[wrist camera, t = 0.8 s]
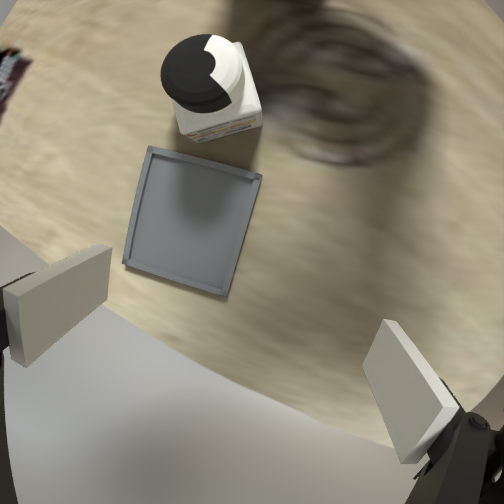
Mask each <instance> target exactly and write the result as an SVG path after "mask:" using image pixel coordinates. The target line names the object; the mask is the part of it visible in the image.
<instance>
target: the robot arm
mask: <svg viewBox="0 0 504 504" xmlns="http://www.w3.org/2000/svg"><path fill="white" fill-rule="evenodd" d="M111 255H112V247H110V246H107V245H104V244H101V243H98V244H96V245H94V246H91V247H89V248H87V249H85V250H82V251H80V252H78V253H76V254H73V255H71V256H69V257H67V258H65V259H63V260H60V261H58V262H56V263H54V264H52V265H50V266H48V267H46V268H44V269H41V270H40V271H37V272H33V273H29V274H26V275H24V276H22V277H20V279H19V278H18V279H16V280H14V281H13V282H10V283H8V284H6V285H4V286H2V287H0V504H18V501H17V497H16V492H15V487H14V482H13V477H12V472H11V466H10V459H9V452H8V445H7V435H6V424H5V411H4V410H5V409H4V355H3V350H4V349H5V348H6V347H8V346H9V348H10V354H11V359H12V360H14V361H15V362H17V363H19V364H20V365H22V366H23V367H25V368H27V367H28V366H29V365H30V364H32V363H33V362H34V361H35V360H36V359H37V358H38V357H40V355H42V354H43V353H44V352H45V351H46V350H47V349H49V348H50V347H51V346H52V345H53V344H54V343H56V342H57V341H58V340H59V339H60V338H61V337H63V336H64V335H65V334H66V333H67V332H68V331H70V330H71V329H72V328H73V327H74V326H76V325H77V324H78V323H79V322H80V321H82V320H83V319H84V318H85V317H86V316H88V315H89V314H90V313H91V312H92V311H94V310H95V309H96V308H97V307H99V306H100V305H101V304H102V303H103V302H105V301H106V300H107V295H108V283H109V273H110V264H111ZM362 368H363V370H364V373H365V375H366V378H367V380H368V382H369V385H370V387H371V389H372V392H373V394H374V397H375V399H376V402H377V404H378V407H379V409H380V411H381V414H382V416H383V419H384V422H385V424H386V427H387V429H388V432H389V434H390V437H391V439H392V442H393V445H394V447H395V450H396V452H397V455H398V458H399V461H400V463H401V464H414V463H418V462H419V461H420V460H421V458H422V457H423V456H424V455H425V454H426V452H427V453H428V455H429V458H430V460H429V461H428V462H427V463H426V464H425V466H424V467H423V468H422V469H421V470H420V471H419V472H418V473H417V475H416V476H415V477H414V478H413V479H416V478H417V477H419V478H418V480H417V482H416V484H415V486H414V488H413V490H412V491H411V493H410V495H409V497H408V499H407V501H406V503H405V504H504V425H503V427H502V428H501V429H500V431H495V430H491V429H490V425H489V423H488V422H487V421H486V420H485V419H484V418H483V417H482V416H480V415H478V414H476V413H473V412H467V413H466V412H465V411H464V409H463V408H462V406H461V405H460V403H459V402H458V401H457V399H456V398H455V396H453V393H452V392H451V391H450V390H449V388H448V386H447V385H446V384H445V382H444V381H443V380H442V379H441V378H440V377H438V376H437V374H436V373H435V372H434V370H433V369H432V368H431V366H430V365H429V364H428V362H427V361H426V360H425V358H424V357H423V355H422V354H421V353H420V351H419V350H418V349H417V348H416V346H415V345H414V344H413V342H412V341H411V340H410V338H409V337H408V336H407V334H406V333H405V332H404V331H403V329H402V328H401V327H400V325H399V324H398V323H397V322H396V321H392V320H388V319H383V320H382V323H381V325H380V327H379V330H378V332H377V334H376V336H375V339H374V341H373V343H372V345H371V347H370V350H369V352H368V354H367V356H366V358H365V360H364V362H363V364H362ZM501 470H502V473H501V476H500V478H499V479H498V481H496V482H495V477H496V476H497V474H498V473H499V472H500V471H501Z"/></svg>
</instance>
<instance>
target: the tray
mask: <svg viewBox="0 0 504 504" xmlns="http://www.w3.org/2000/svg"><path fill="white" fill-rule="evenodd" d="M261 178H262V175H261V174H258V173H255V172H251V171H248V170H244V169H241V168H237V167H233V166H230V165H226V164H222V163H218V162H215V161H211V160H207V159H203V158H199V157H195V156H191V155H187V154H183V153H179V152H175V151H170V150H166V149H162V148H157V147H153V146H148V148H147V152H146V155H145V159H144V163H143V167H142V170H141V174H140V178H139V182H138V186H137V191H136V195H135V199H134V204H133V208H132V213H131V217H130V222H129V227H128V232H127V237H126V243H125V248H124V254H123V260H122V264H125V265H128V266H131V267H134V268H137V269H139V270H142V271H145V272H148V273H151V274H154V275H157V276H160V277H164V278H167V279H170V280H173V281H176V282H179V283H182V284H185V285H188V286H192V287H195V288H198V289H201V290H204V291H208V292H211V293H214V294H217V295H221V296H224V297H227V294H228V291H229V287H230V284H231V280H232V277H233V273H234V270H235V266H236V263H237V260H238V256H239V253H240V249H241V246H242V242H243V239H244V236H245V232H246V229H247V225H248V222H249V218H250V215H251V212H252V208H253V205H254V202H255V198H256V195H257V191H258V188H259V185H260V181H261Z"/></svg>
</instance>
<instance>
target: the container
mask: <svg viewBox="0 0 504 504" xmlns="http://www.w3.org/2000/svg"><path fill="white" fill-rule="evenodd" d="M161 82H162V86H163V88H164V90H165V91H166V93H167V94H168V95H169V96H170V97H171V98H172V102H173V106H174V110H175V114H176V118H177V122H178V126H179V130H180V133H181V134H183V135H185V136H187V137H188V138H190V139H192V140H194V141H195V142H197V143H203V142H206V141H210V140H213V139H216V138H220V137H223V136H226V135H230V134H233V133H237V132H241V131H244V130H248V129H252V128H256V127H260V126H262V124H263V119H262V108H261V104H260V101H259V97H258V94H257V91H256V88H255V84H254V81H253V78H252V75H251V71H250V68H249V65H248V62H247V59H246V56H245V52H244V49H243V46H242V44H241V43H240V42H235V43H231V42H230V41H228V40H227V39H225V38H223V37H220V36H216V35H210V34H202V35H196V36H192V37H189V38H187V39H185V40H183V41H181V42H180V43H178V44H177V45H176V46H174V47H173V48H172V49H171V50H170V52H169V53H168V54H167V56H166V57H165V59H164V61H163V64H162V68H161Z"/></svg>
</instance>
